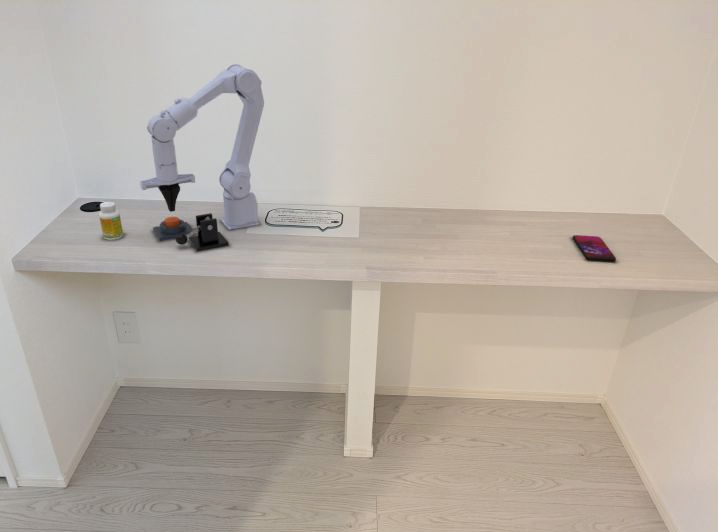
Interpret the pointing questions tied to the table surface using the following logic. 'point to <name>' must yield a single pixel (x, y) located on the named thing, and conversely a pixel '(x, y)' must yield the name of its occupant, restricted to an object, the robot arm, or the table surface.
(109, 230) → the supplement bottle
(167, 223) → the button
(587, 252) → the smartphone
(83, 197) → the table surface
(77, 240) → the table surface
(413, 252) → the table surface
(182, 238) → the switch lever
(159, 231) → the button box
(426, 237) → the table surface
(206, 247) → the switch bracket
